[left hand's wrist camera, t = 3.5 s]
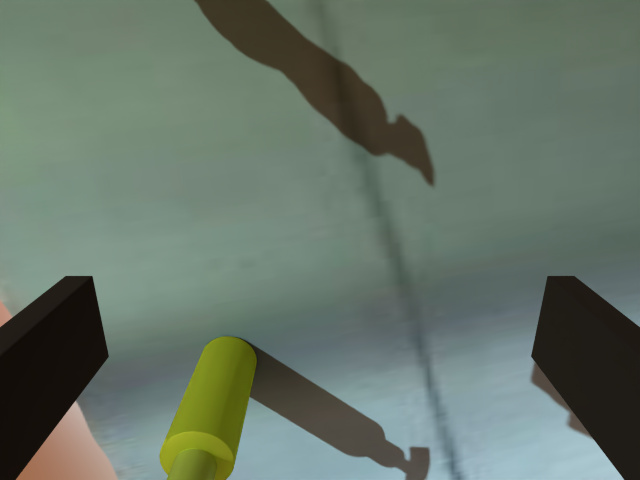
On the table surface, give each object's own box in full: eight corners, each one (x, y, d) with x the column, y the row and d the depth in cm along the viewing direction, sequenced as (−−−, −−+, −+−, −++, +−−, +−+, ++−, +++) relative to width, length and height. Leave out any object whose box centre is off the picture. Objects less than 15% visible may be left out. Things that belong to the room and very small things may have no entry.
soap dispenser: (257, 329, 45) (213, 508, 26) (256, 383, 48) (214, 582, 29) (200, 325, 45) (115, 503, 26) (202, 380, 47) (125, 578, 29)
